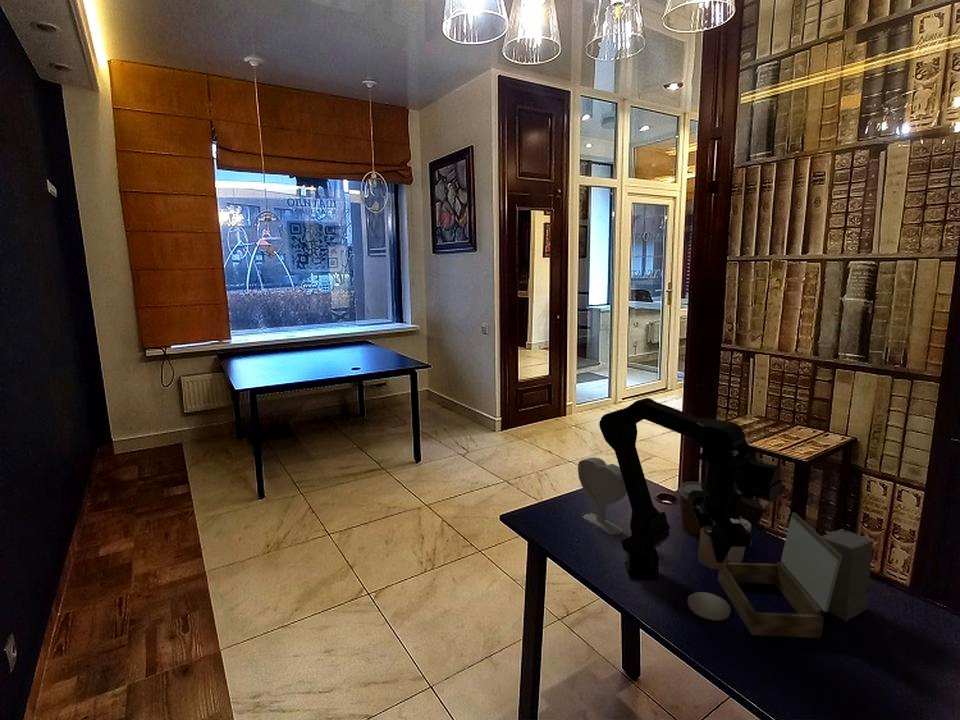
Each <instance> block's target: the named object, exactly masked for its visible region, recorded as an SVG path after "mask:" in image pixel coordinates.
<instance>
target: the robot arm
mask: <svg viewBox="0 0 960 720" xmlns="http://www.w3.org/2000/svg"><path fill="white" fill-rule="evenodd" d="M643 420H646V421H648V422H651V423H652V424H655V425H658V426H661V427H663V428H665V429H667V430H670V431H673V432H676V433H678V434H680V435H683V436H685V437H688V438H690V439H691V440H693V441H694V442H695V444H696V445H698V446H699V448H702V449H703V451H702V452H701V453H698V454H697V455H696V456H695V457H696V459H697V460H700V461H701V460H702V461H704V462H706V468H705V481H704V483H703V484H701V488H702V490H703V491H702V490H693V491H691V492H690V493H689V494H688V502H689V504H690V505H691V507H695V506H696V504H697V507H696V508H694V509H692V510H693V513H694V515H695V518H696V520H697V523H698V525H699V528H700V531H701V528H702V527H705V526H707V525H713V523H716V524H715V525H714V526H713V527H712V532H708V534H709V537H710V541H711V544H712V548H713V551H714V555H715V558H716V561H717V563H723V561H724V559H725V557H726V556H727V554H728V552H729V550H730V548H731V547H745V548H751V547H752V544H753V535H752V534H751V533H750V532H748V531H747V530H746V529H745V527H744V526H743V525H742V524H741V523H732V522H731V521H730V518H733V519H738V520H740V516H741V518H743V519H745V520H748V521H749V520H750V521H752V522H753V523H755V524H760V522H761V520H762V517H763V516H764V514H765V513H766V509H765V507H764V506H763V505H762V504H761V503H760V502H759V501H757V500H756V499H754V497H755V498H757V499H761V500H762V501H763V500H764V501H766V502H770V503H771V504H772V503H775V502H776V501H777V499H778V497H779V495H780V493H781V489H782V485H783V480H782V478H781V477H782V476H781V473H780V472H779V468H780V467H779V466H778V465H774V464H771V463H770V464H769V463H768V464H767V463H764V462H761V461H757V460H755V458H756V454H755V453H754V452H753V450H752V448H751V446H750V445H749V443H748V441H747V440H746V435H745V432H744V431H743V429H742V427H741V426H740V425H739V424H738V423H735V422H733V421H727V420H722V419H714V418H713V419H712V418H711V419H710V418H702V417H698V416H696V415H693V414H690V413H688V412H685V411H683V410H679V409H677V408H674V407H672V406H669V405H666V404H663V403H660V402H657V401H655V400H654V399H653V398H650V397H645V398H641V399H638V400H636V401H634V402H633V403H631V404H630V405H628V406H626V407H625V408H620V409H617V410H614V411H612V412H608V413H605V414H603V415H602V417H601V418H600V420H599V423H598V425H599V429H600V431H601V432H600V433H601V434H602V436H603V438H604V441H605V442H606V444H608V446H609V447H610V448H612V450H613V451H614V454H615V456H616V459H617V463H618V467H620V471H621V474H622V477H623V481H624V484H625V488H626V491H627V493H626V495H627V497H628V501H629V505H630V508H631V518H630V521H629V522H630V524H629V527H630V533H631V535H630V536H629V537H626V538H625V539H623V540H622V541H621V546H622V549H623V551H624V552H626V561H624V566H625V569H626V572H627V574H628V575H627V576H628V578H629V579H631V580H645V581H646V580H649V581H657V580H658V579H659V576H658V575H657V574H658V573H659V570H660V569H659V567H660V556H659V554H658V551H657V547H660V546H661V545H662V544H663V543H664V542H666V541H667V540H668V538H669V537H670V530H671V526H670V525H669V522H668V518H667V514H666V512H665V511H662V512H661V511H659V510H658V509H657V508H656V507H655V506H654V504H653V500H652V497H651V493H650V491H649V490H650V489H649V487H648V484H647V483H648V482H647V480H646V476H645V473H644V470H643V467H642V464H641V461H640V457H639V453H638V450H637V445H636V444H637V437H638V427H637V424H638V423H640V422H642V421H643ZM735 451H737V452H738V454H737V453H736V454H735V455H734V453H733V452H735Z"/></svg>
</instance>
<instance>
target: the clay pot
mask: <svg viewBox="0 0 960 720" xmlns="http://www.w3.org/2000/svg"><path fill="white" fill-rule="evenodd" d="M715 524H716V523H713V525H707V526H705V527H702V528H701V532H700V535H699V544H698V545H699V546H698V555H697V560H698V562H699V563H700V564H701V565H702V566H705V567H706V568H709V569H712V570H719V569H724V568H726V567H727V563H728V562H729V561H728V554H729V552H728V554H727V556H726V557H725V559H724V561H723V563H717V561H716V558H715V555H714V551H713V548H712V544H711V541H710V537H709V534H708V532H712V527H713V526H714V525H715Z"/></svg>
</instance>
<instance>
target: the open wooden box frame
mask: <svg viewBox="0 0 960 720" xmlns="http://www.w3.org/2000/svg"><path fill="white" fill-rule="evenodd" d="M717 580H718V582H719V584H720V586H721V587H722V589H723V590H724V592H725V593H726V595H727V596H728V598H729V600H730V602H731V603H732V605H733V607H734V608H735V610H736V612H737V613H738V614H739V615H738V616H739V617H740V618H741V620H742V621H743V623H744V625H745V626H746V627H747V629H748V631H749V633H750V634H751V636H763V637H765V636H767V637H787V638H788V637H791V638H810V639H811V638H812V639H822V635H823V627H824V620H825V617H824V616H823V615H822V614H823V613H822V612H823V610H822V608H820V607H819V606H818V605H817V604H816V603H815V600H814V599H813V598H812V597H811V596H810V595H809V593H808V592H807V591H806V590H805V589H804V588H803V586H802V585H801V584H800V583H799V582H798V581H797V579H796V578H795V577H794V576H793V575H792V574H791V572H790V571H789V570H788V569H787V568H786V567H785V565H784V564H783V563H782V562H781V561H777V562H776V563H762V562H761V563H760V562H759V563H758V562H756V563H755V562H741V563H734V562H730V561H728V563H727V567H726V568H724V569H718V575H717ZM738 583H740V584H741V583H742V584H744V583H746V584H766V585H767V584H769V585H770V584H771V585H775V586H776V588H778V590H779V592H781V594H782V595H783V596H784V598H785V599H786V600H787V601H788V603H789V604H790V606H791V607H792V608H793V609H794V611H795V612H796V613H783V612H761V611H760V612H759V611H756V610H755V608H754V606H753V605H752V603H751V602H750V600H749V599H748V598H747V595H745V593H744V592H743V589H741V587H740V585H739V584H738Z"/></svg>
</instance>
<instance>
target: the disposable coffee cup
mask: <svg viewBox="0 0 960 720" xmlns="http://www.w3.org/2000/svg"><path fill="white" fill-rule="evenodd" d="M701 484H704V483H703V482H697V481H686V482H683V483H681V484H680V486H679V488H678V495H679V501H680V515H681V528H682V529H683V531H684V532H686V533H688V534H691V535H694V536H700V532H701V531H700V528H699V525H698V523H697V520H696V518H695V515H694V513H693V510H692V509H694V508H696V507H697V504H696V506H695V507H691V505H690V504H689V502H688V494H689V493H690V492H691V491H693V490H702V488H701ZM702 491H703V490H702Z"/></svg>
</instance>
